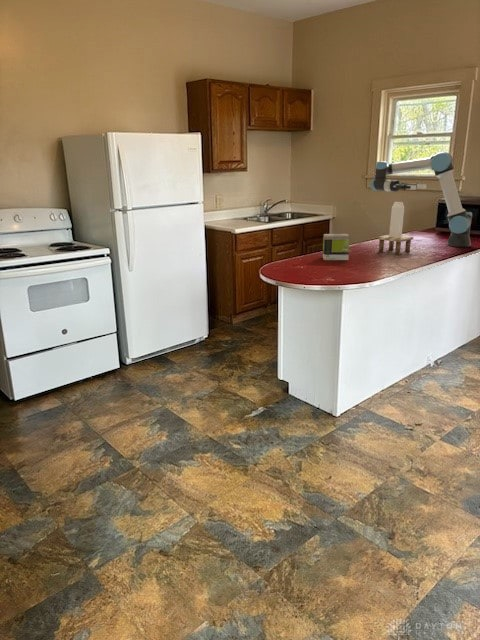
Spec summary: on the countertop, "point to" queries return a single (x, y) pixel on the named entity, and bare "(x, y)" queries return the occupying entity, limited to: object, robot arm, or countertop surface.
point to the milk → (396, 220)
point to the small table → (398, 243)
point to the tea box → (336, 246)
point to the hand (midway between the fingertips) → (421, 187)
